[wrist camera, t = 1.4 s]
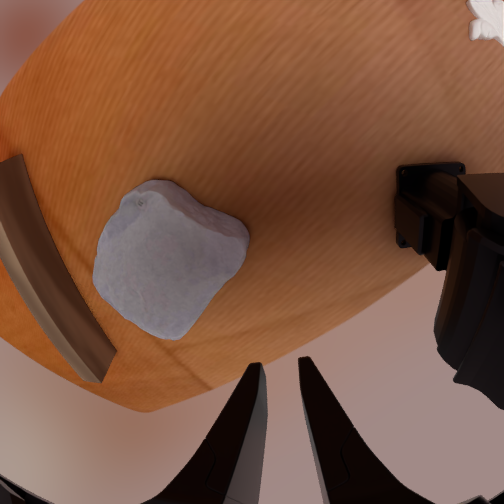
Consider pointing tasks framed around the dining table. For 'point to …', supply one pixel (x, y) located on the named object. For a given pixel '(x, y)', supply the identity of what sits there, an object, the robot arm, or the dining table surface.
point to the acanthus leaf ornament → (487, 20)
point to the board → (47, 277)
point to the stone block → (166, 257)
